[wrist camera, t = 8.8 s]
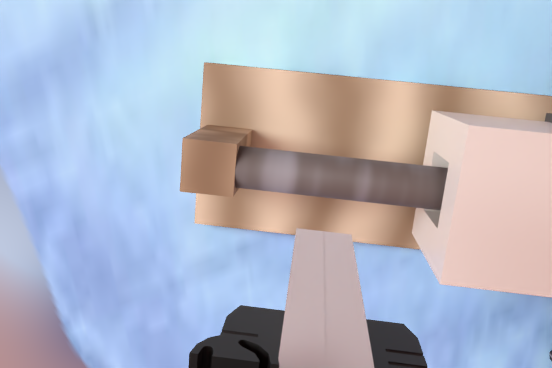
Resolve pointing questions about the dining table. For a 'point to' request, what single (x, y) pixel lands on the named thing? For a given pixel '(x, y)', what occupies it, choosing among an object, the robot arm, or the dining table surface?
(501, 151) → the sleeve
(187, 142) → the rail
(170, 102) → the dining table surface
